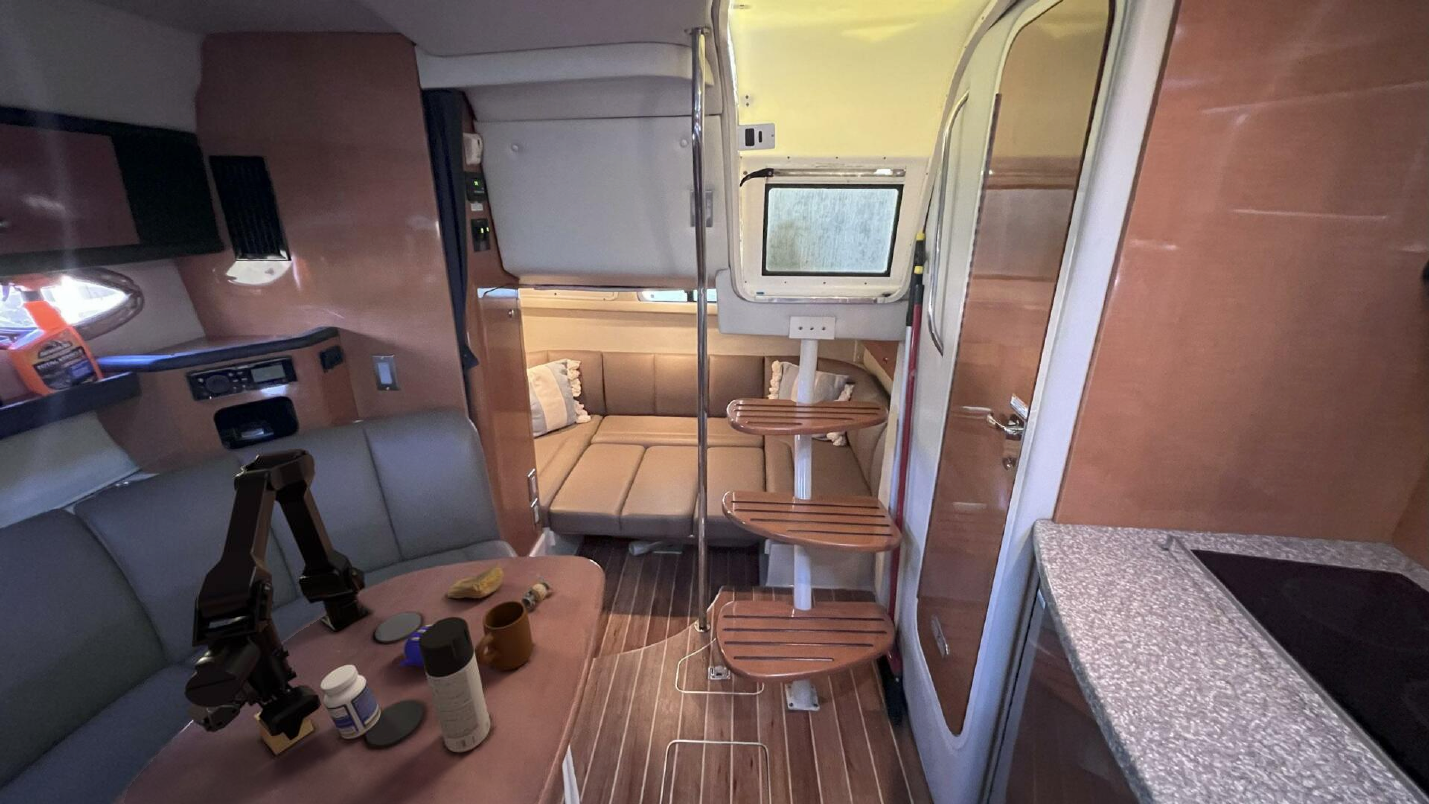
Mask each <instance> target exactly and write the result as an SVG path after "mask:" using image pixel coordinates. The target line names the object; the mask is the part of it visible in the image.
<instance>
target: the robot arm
mask: <svg viewBox="0 0 1429 804" xmlns="http://www.w3.org/2000/svg"><path fill="white" fill-rule="evenodd" d="M315 465H316V463H315V458H314V456H313V454H311V453H310V452H309V451H308V450H307V449H304V448H294V449H287V450H281V451H280V450H279V451H272V452H271V451H270V452H265V453H259V454H257V455H256V457H255V458H254V460H252V461H250V462H248V463H246V464H245V465H243V466H241V467H240V471H241V472H239V473H238V474H236V476H235V477H234V479H233V489H234V491H235V496H234V498H233V499H234V500H233V504H232V508H231V513H230V517H229V522H228V527H227V531H226V534H225V540H224V543H223V548H222V553H221V555H220V559H219V560H218V561H217V562H216V563H215V564H214V566H213V567H212V568H211V569H209V571H207V572H206V573H205V575H204V578H203V581H202V584H201V585H200V589H199V591H198V594H197V595H196V597H195V600H194V610H193V625H192V637H191V638H192V639H191V647H192V648H196V647H197V648H198V647H201V646H206V647H207V649H208V650H207V651H206V653H204V655H203V656H202V657H201V658H200V659H199V660H198V661H197V662H196V663H195V665H194V670H195V671H194V673H193V674H192V676H191V677H190V678H189V679H188V681H186V684H185V688H184V692H183V693H184V697H185V698H186V699H187V701H188V702H190V703H191V704H190V706H189V707H188V708H187V714H188V715H189V717H190V718H191V719H192V721H193V722H194V723H195V724H197V725H199V726H200V727H202V728H203V729H204V730H205V732H210V733H215V732H218V731H219V730H222V729H224V728H226V727H227V726H228V725H229V724H231V723H232V721H234V720H235V719H236V718H237V717H238V716H239V715H240V714H241V710H242V708H243V707H245V705H246V703H247V705H248V706H249V707H253V706H254V705H256V704H258V706H259V707H260V708H261V709H262V710H261V711H260V712H261V713H260V715H259V718H260V720H258V721H259V722H260V723H261V724H262V726H263V727H264V728H265V729H266V730H267V731H268V733H269V734H270V735H271V736H272V737H273V736H278V735H280V734H281V733H284V734H285V735H286V736H287V738H288V739H289V740H290V741H291V740H293V739H294V738H296V737H297V736H298V735H299V732H300V728H301V725H302V722H303V719H304V718H305V717H307V716H308V717H309V716H310V715H312V714H313V713H315V712H316V711H318V710H319V709H320V708H321V706H322V702H321V699H320V697H319V694H318V693H317V692H316V691H315V690H314V689H313V688H311V686H310V685H306V684H299V685H298V686H294V687H293V686H292V685H291V684H290V682H291V681H292V680H294V679H296V678H297V677H298V675H297V672H296V670H294V668H292V666H290V663H289V661H288V657H289V656H290V653H289V650H288V649H287V648H286V647H285V646H284V645H283V644H282V642H281V639H280V637H279V634H278V631H277V629H276V626H275V623H274V621H273V617H272V609H273V606H274V605H275V604H274V603H275V602H274V600H273V599H274V594H275V593H274V592H275V589H274V586H273V582H272V581H273V574H272V571H271V570H270V569H269V567H268V566H267V565H266V563H265V561H266V560H265V559H266V558H265V557H266V552H267V545H268V541H269V534H270V529H271V523H272V518H273V513H274V506H275V502H277V503H278V504H279V505H278V506H279V507H280V509H281V511H282V514H283V516H284V518H285V519H284V520H286V524H287V526H288V528H289V531H290V532H291V535H292V538H293V540H294V542H295V544H296V546H297V549H298V552H299V554H300V556H301V558H302V560H303V563H304V567H303V569H302V571H301V574H300V577H299V579H298V582H297V583H298V585H299V586H300V591H301V593H302V596H303V597H305V598H306V600H307V601H308V603H309V604H315V603H319V602H322V605H323V607H324V611H325V614H326V615H325V616H323V617H321V621H322V623H323V624H325V625H326V626H328V627H329V628H330V629H331V630H332V631H334V632H339V631H340V630H342V629H344V628H346V627H347V626H349V625H351V624H353V623H355V622H356V621H358V620H360V619H362V618H363V617H365V616H367V615H369V614H370V609H368V608H366V607H365V606H364V605H362V604H361V602H360V599H359V596H358V595H359V594H360V592H361V591H362V590H363V589H365V588H366V587H367V585H366V582H365V578H366V577H365V573H364V571H363V570H361V569H359V568H357V567H355V566H353V565H352V563H351V561H350V559H349V557H348V556H347V555H345V554H344V553H342V552H340V551H338V550H336V549H334V547H333V544H332V542H331V538H330V536H329V534H328V531H327V528H326V526H325V524H324V522H323V521H324V520H323V519H322V516H321V514H320V510H319V509H318V506H317V503H316V501H315V498H314V496H313V493H312V490H311V486H312V483H313V481H314V478H315V476H316V470H315V468H316V467H315ZM228 620H230V621H229V622H228V623H227V624H223V625H218V626H213V627H210V625H211V623H212V624H213V623H218V622H223V621H228Z"/></svg>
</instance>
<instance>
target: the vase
mask: <svg viewBox="0 0 1429 804" xmlns="http://www.w3.org/2000/svg"><path fill="white" fill-rule="evenodd" d="M536 578H537V580H538V581H540V583H536V584H533V586H531V587H530V588H529V589H528V590H527V591H526V592H525V594H524V597H523V598H522V599H521V603H522V604H523V605H524V606H525V607H526V608H527V609H530V608H531V607H535V606H536V605H538V604H539V603H540V602H541V601H542V600H543V599H544V598H545V597H546V595H547V593H549V591H552V592H555V591H554V590H555V589H554V588H553V586H551V585H550V584H549V583H548V582H547V580H546V579H545V578H544V577H543V576H542V575H541V574H540V573H536ZM529 582H530V581H529ZM550 594H552V595H553V593H551V592H550Z"/></svg>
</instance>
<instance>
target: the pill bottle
mask: <svg viewBox="0 0 1429 804" xmlns="http://www.w3.org/2000/svg"><path fill="white" fill-rule="evenodd" d="M320 689H321V691H322V693H323V695H324V697H323V704H324V707H325V708H326V710H327V713H328V714H329V716H330V718H331V720H332V722H333V723H334V726H335V727H336V729H337V731H338V733H339V734H340V735H339V736H341V737H342V738H344V739H347V740H349V739H355V738H358V737H360V736H362V735H364V734H366V732H367V731H368V730H369V729H371V728H372V727H373V726H374V725H375V724H376V722H377V721H378V719H379V717H380V713H381V711H382V710H381V707H380V706H379V704H378V702H377V700H376V698H375V696H374V694H373V691H372V690H371V688H370V685H369V683H368V681H367V680H366V678H365V677H364V676H363V675H361V674H359V671H358V669H357V668H356V666H355V665H353V664H345V665H342V666H340V667H337V668H335V669H334V670H332V671H331V672H330V673H328V674H327V675H326V676H325V677H324V678H323V679H322V681H321V683H320Z"/></svg>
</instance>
